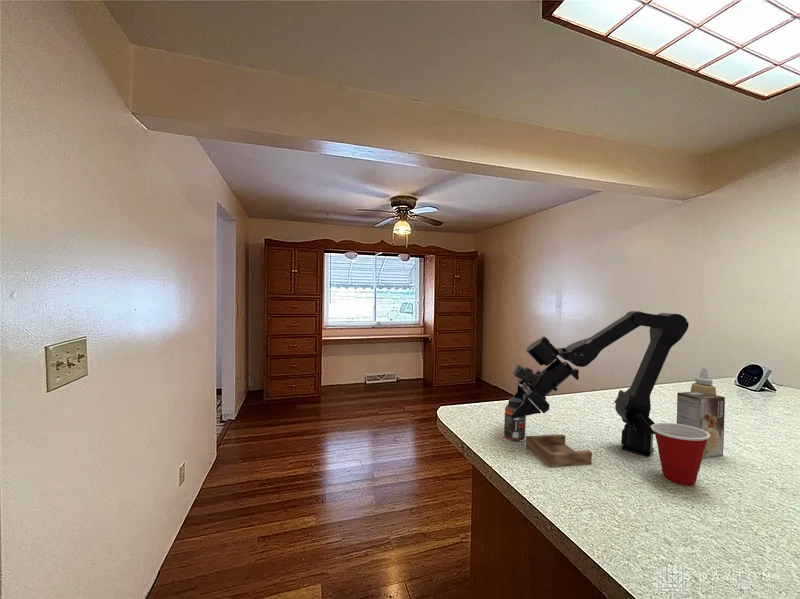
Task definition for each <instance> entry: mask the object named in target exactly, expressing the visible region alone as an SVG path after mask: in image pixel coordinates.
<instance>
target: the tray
mask: <svg viewBox="0 0 800 599" xmlns="http://www.w3.org/2000/svg"><path fill="white" fill-rule="evenodd" d="M525 448H526V449H527V450H529V452H531V453H532V454H534V455H535V456H536V457H537V458H538V459H540V460H541V461H542V462H543V463H545V464H546V465H547V466H549V467H550V468H556V467H557V468H560V467H574V466H586V465H587V466H588V465H592V461H593V458H592V456H593V452H592V451H590V450H577V451H576V450H574V449H573V448H571V447H569V446H568V445H566V435H564V434H563V433H560V434H545V435H544V434H543V435H525Z"/></svg>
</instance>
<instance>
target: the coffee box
mask: <svg viewBox="0 0 800 599" xmlns="http://www.w3.org/2000/svg"><path fill="white" fill-rule="evenodd" d="M676 396H677V399H676V400H677V401H676V424H682V425H687V426H692V427H696V428H699V429H702V430H704V431H706V432H708V433H709V434H710V437H709V439H708V440H707V444H706V447H705V449H704V453H703V457H702V459H703V458H711V457H718V456H724V440H725V439H724V438H725V437H724V436H725V410H726V409H725V406H726V397H725V396H721V395H717V394H716V395H714V394H710V393H705V392H701V391H698V392H691V391H686V392H685V391H684V392H677V395H676Z"/></svg>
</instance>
